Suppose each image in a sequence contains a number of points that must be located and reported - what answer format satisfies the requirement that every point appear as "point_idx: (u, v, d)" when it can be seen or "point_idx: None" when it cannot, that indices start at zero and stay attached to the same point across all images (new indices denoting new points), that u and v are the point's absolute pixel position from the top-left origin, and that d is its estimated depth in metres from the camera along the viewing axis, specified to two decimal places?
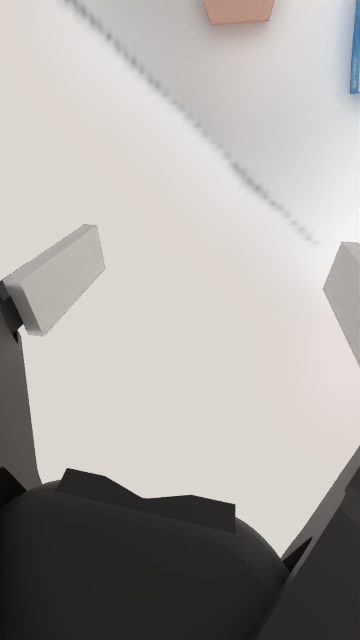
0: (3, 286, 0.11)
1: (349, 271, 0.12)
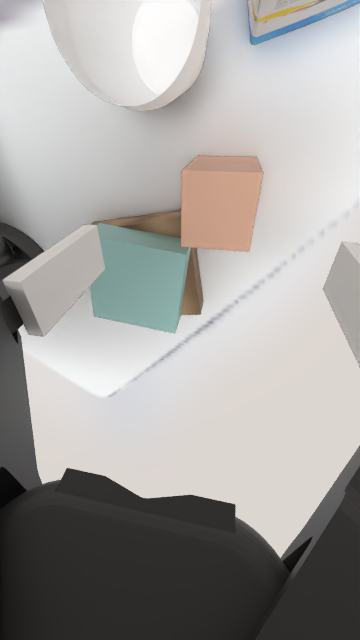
0: (3, 286, 0.11)
1: (349, 271, 0.12)
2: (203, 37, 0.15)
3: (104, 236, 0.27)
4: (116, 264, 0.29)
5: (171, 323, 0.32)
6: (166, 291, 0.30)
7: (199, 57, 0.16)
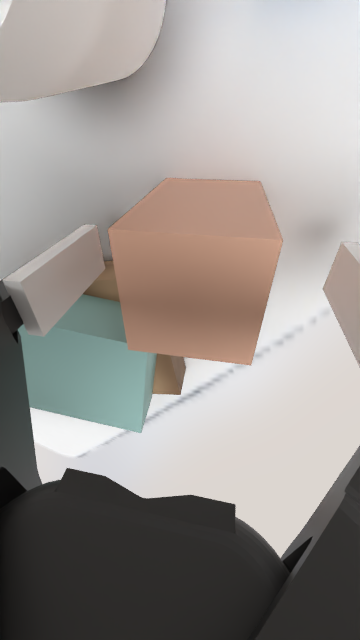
0: (3, 286, 0.11)
1: (349, 271, 0.12)
2: None
3: None
4: (42, 351, 0.18)
5: (134, 422, 0.22)
6: (122, 388, 0.19)
7: None
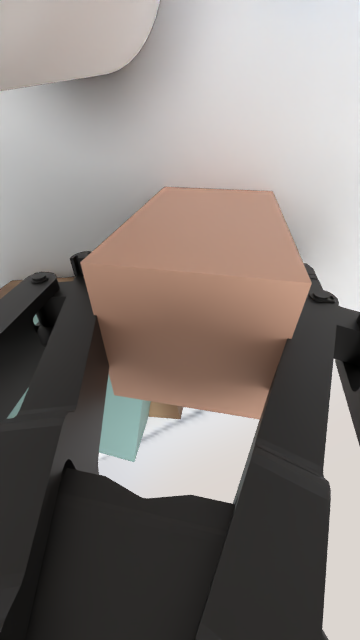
0: None
1: None
2: None
3: None
4: None
5: (127, 451, 0.20)
6: (115, 418, 0.17)
7: None
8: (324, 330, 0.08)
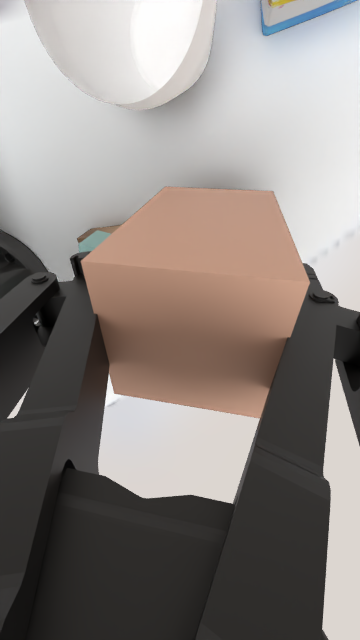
0: None
1: None
2: (208, 23, 0.13)
3: None
4: None
5: None
6: None
7: (203, 47, 0.14)
8: (324, 330, 0.08)
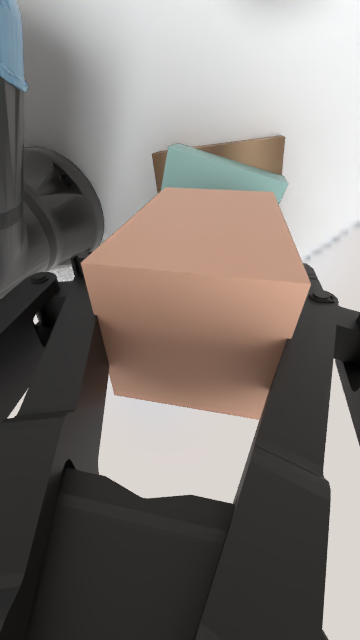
0: None
1: None
2: None
3: (191, 152, 0.23)
4: None
5: None
6: None
7: None
8: (324, 330, 0.08)
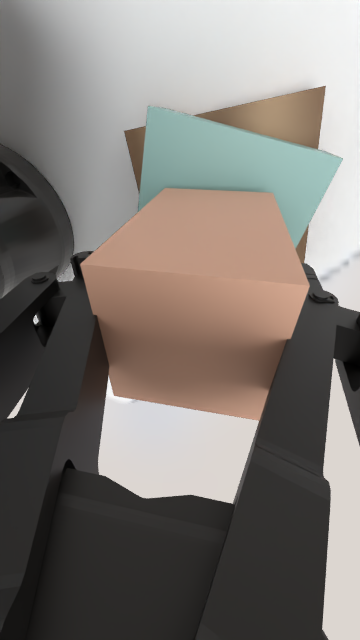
0: None
1: None
2: None
3: (184, 115, 0.14)
4: (197, 176, 0.16)
5: None
6: None
7: None
8: (324, 330, 0.08)
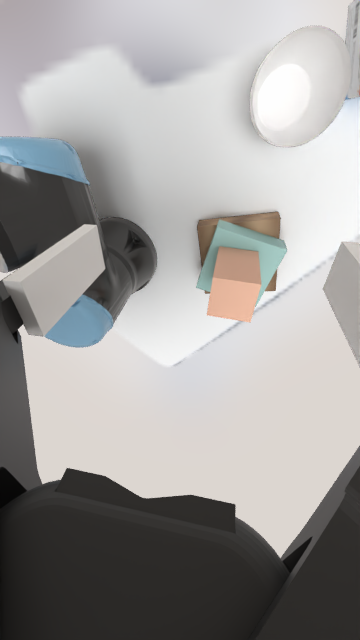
0: (3, 286, 0.11)
1: (349, 271, 0.12)
2: (336, 109, 0.26)
3: (230, 230, 0.39)
4: None
5: None
6: (262, 274, 0.41)
7: (329, 118, 0.27)
8: None
